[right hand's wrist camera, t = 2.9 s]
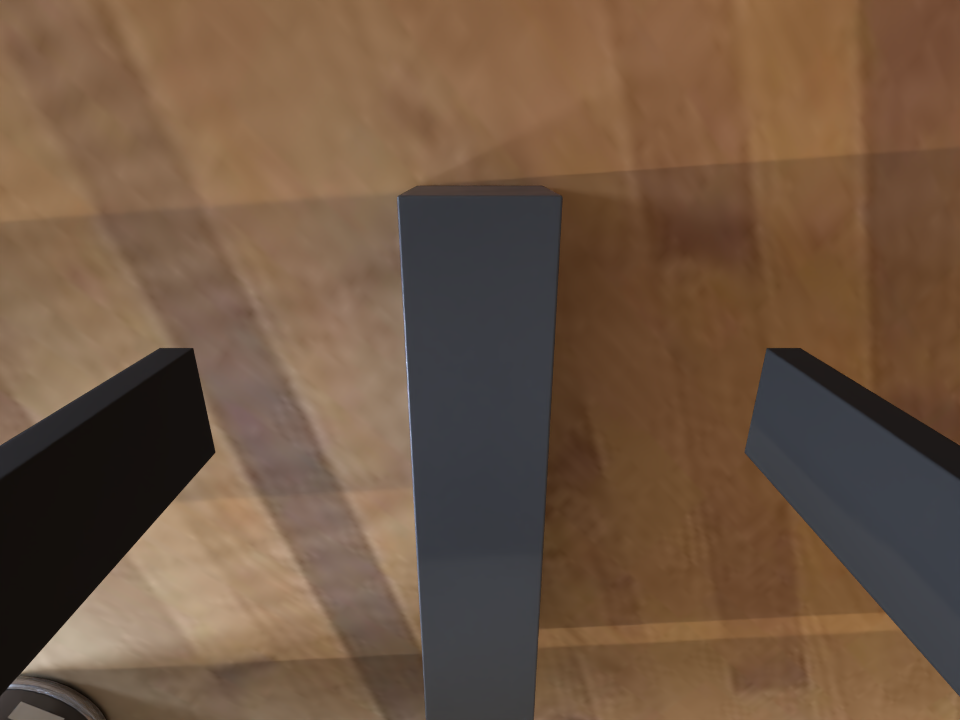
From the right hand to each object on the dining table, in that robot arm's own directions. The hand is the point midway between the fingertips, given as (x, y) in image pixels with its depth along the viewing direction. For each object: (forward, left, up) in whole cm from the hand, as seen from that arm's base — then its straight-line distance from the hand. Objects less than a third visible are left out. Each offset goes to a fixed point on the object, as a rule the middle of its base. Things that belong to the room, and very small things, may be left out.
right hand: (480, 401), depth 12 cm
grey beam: (0, -10, -15) cm, 18 cm away
